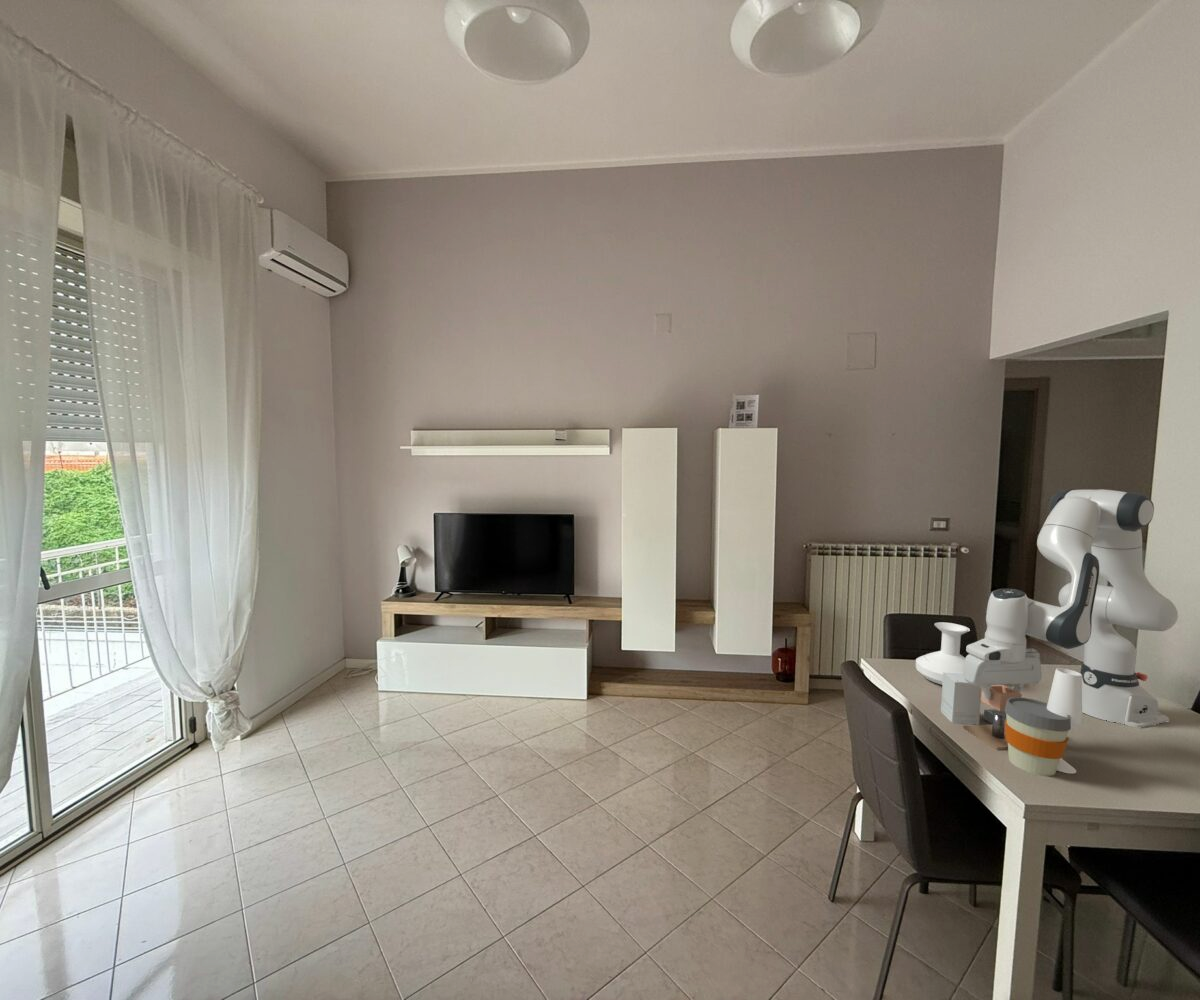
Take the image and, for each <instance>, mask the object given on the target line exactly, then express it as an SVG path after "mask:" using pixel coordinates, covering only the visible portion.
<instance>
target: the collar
mask: <svg viewBox="0 0 1200 1000" xmlns="http://www.w3.org/2000/svg"><path fill="white" fill-rule="evenodd" d="M989 690H990V693H992V694H994V697H993V698H994V699H993V700H986V699H984V698H983V690H982V689H981V702H983V703H984V704H985V705H988V706H990V707H992V708H993V709H997V710H999V711H1005V706H1006V702H1007V699H1008V698H1011V697H1020V698H1022V693H1021V692H1020V693H1018V692H1016V691H1014V690H1012V688H1011V687H1008V686H1007V685H991V689H989Z"/></svg>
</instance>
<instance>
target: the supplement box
mask: <svg viewBox="0 0 1200 1000" xmlns="http://www.w3.org/2000/svg"><path fill="white" fill-rule="evenodd" d="M941 686H942V688H941V702H940V703H941V705H940V712H941V714H943V715H944V716H945V718H946V719H948V721H949V722H951V723H952V722H953V723H952V724H961V723H965V724H964V725H971V724H976V725H980V717H981V716H980V714H981V702H982V701H981V691H982V689H981V687H980V686H975V685H973V684H971V683H969V682H967V681H966V680H965V679H964V677H963V674H960V673H945V672H943V684H942V685H941Z"/></svg>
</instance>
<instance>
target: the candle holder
mask: <svg viewBox="0 0 1200 1000" xmlns="http://www.w3.org/2000/svg"><path fill="white" fill-rule="evenodd" d="M933 624H934V626H935V628H937V629H938V630H939V631H940V632H941V643H940V644H941V645H940V650H938V651H937V650H936V651H933V652H930V653H926V654H923V655H921V656H918V657H917V658H915V669H916V670H917V671H918V672H919V673H920V674H921V675H923V677H924V678H926V679H927V680H928V681H931V682H933V683H935V684H938V685H941V686H942V684H943V672H945V673H960V674H963V670H964V662H965V658H966V656H965V657H964V656H963V654H960V652H961V650H960V649H961V639H962V638H961V637H962V635H964V634H966V633H968V632H970V631H971V630H970V628H969V627H967V626H965V625H961V624H957V623H952V622H943V621H942V622H941V621H940V622H935V623H933Z"/></svg>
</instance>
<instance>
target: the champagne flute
mask: <svg viewBox="0 0 1200 1000" xmlns="http://www.w3.org/2000/svg"><path fill="white" fill-rule="evenodd" d="M1048 696H1049V697H1048V700H1047V709H1048V710H1049V711H1051V712H1053V713H1055V714H1057V715H1060V716H1063V717H1067V715H1070V722H1071V729H1072V728H1075V727H1077V726H1078V725H1080V724H1081V723H1082V721H1083V712H1082V674H1081V673H1080V672H1078V671H1076V670H1073V669H1068V668H1061V667H1057V668H1055V672H1054V675H1053V679H1052V684H1051V689H1050V691H1049V695H1048ZM1056 772H1061V773H1065V774H1076V773H1077V770H1076V768H1074V767H1073V766H1072V765H1071V764H1069V763H1068V762H1067V761H1066V760H1065V759H1063V757H1062V758H1060V760H1059V763H1058V766H1057V770H1056Z"/></svg>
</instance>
